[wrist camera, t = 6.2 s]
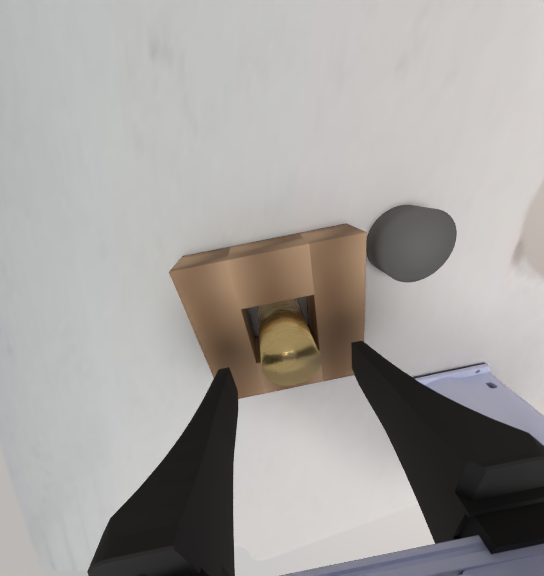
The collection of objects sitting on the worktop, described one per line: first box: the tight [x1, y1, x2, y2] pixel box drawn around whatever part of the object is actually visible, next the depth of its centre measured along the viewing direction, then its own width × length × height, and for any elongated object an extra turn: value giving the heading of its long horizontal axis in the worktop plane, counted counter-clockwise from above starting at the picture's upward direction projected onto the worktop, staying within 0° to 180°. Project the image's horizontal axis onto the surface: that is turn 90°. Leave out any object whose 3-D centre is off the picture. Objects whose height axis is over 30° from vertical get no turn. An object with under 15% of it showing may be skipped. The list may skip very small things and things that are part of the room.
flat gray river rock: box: [366, 205, 456, 282], centre depth 16 cm, size 5×5×2 cm
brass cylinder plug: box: [258, 298, 321, 386], centre depth 16 cm, size 4×4×6 cm
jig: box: [169, 224, 367, 399], centre depth 17 cm, size 12×12×3 cm
